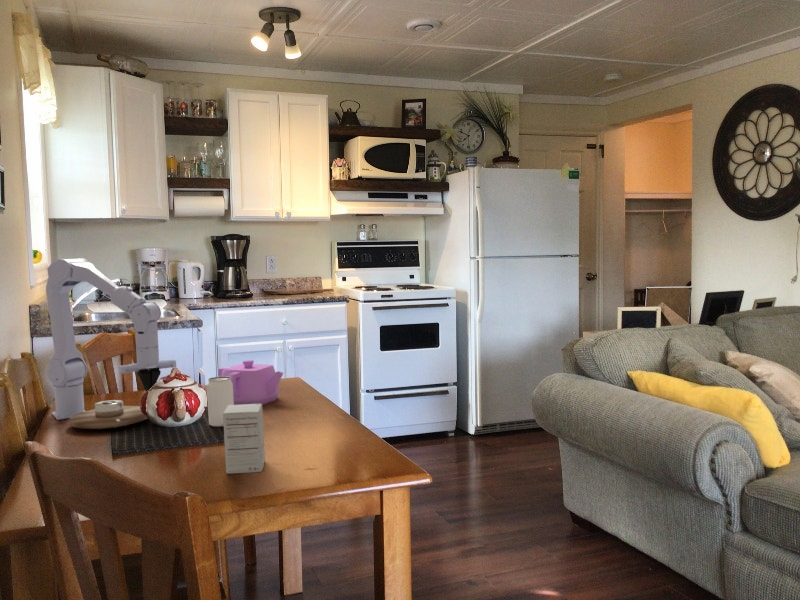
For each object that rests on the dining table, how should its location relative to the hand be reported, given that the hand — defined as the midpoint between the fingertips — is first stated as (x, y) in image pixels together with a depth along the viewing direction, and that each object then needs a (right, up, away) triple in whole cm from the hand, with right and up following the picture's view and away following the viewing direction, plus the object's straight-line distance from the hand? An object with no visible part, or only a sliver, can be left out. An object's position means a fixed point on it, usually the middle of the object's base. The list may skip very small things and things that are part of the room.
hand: (149, 396), depth 193 cm
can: (+22, -6, -9) cm, 24 cm away
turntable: (-8, -5, -5) cm, 11 cm away
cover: (-9, -4, -6) cm, 11 cm away
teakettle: (+24, -4, +18) cm, 30 cm away
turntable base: (-8, -7, -5) cm, 12 cm away
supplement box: (+36, -9, -46) cm, 60 cm away
